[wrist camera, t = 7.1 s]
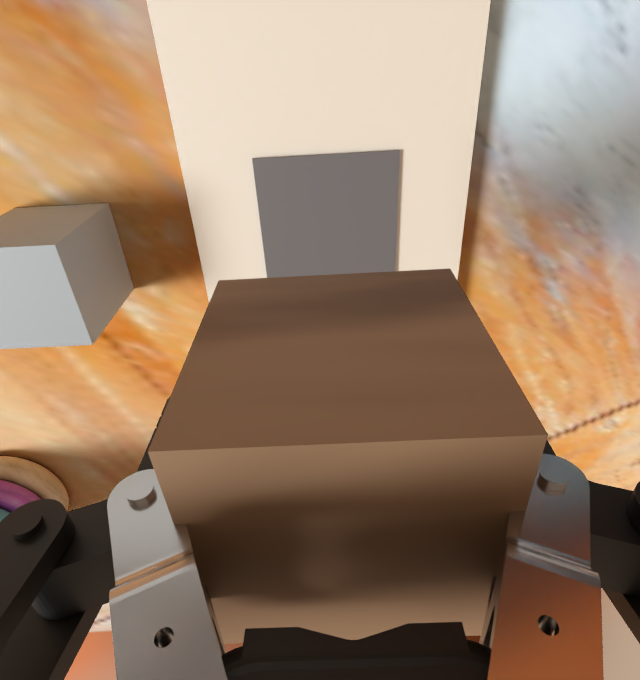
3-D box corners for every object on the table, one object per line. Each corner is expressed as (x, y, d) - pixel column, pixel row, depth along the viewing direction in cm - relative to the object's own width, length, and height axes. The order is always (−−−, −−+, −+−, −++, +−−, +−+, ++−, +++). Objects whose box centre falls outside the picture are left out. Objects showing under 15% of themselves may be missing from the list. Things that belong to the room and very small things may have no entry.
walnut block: (218, 280, 12) (147, 452, 7) (450, 268, 12) (547, 435, 7) (249, 445, 15) (216, 643, 10) (432, 437, 15) (489, 635, 10)
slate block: (15, 207, 24) (-63, 250, 19) (109, 202, 24) (54, 244, 19) (49, 292, 27) (-11, 349, 22) (134, 288, 27) (92, 344, 22)
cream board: (152, -5, 20) (143, -7, 19) (486, -26, 19) (495, -30, 18) (228, 374, 30) (225, 385, 29) (442, 364, 30) (446, 375, 29)
